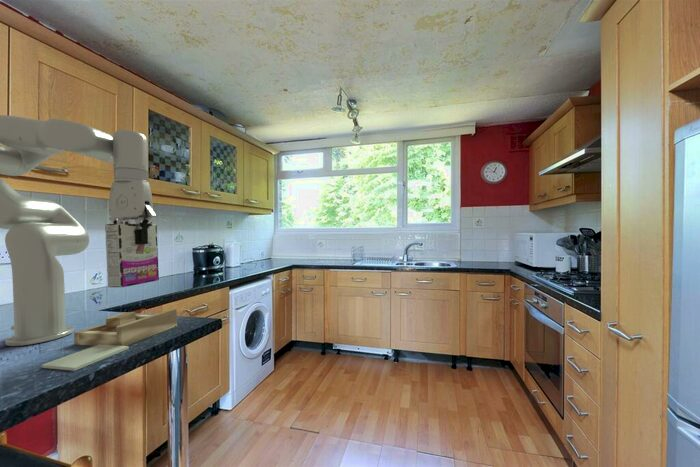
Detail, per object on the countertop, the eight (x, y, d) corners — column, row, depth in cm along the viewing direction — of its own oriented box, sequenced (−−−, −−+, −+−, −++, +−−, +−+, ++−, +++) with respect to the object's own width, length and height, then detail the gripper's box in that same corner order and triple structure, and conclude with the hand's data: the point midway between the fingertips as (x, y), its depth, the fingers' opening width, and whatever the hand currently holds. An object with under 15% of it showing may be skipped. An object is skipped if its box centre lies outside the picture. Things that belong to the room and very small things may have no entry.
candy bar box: (145, 280, 84) (143, 224, 84) (159, 280, 83) (158, 224, 83) (105, 287, 73) (104, 223, 73) (121, 287, 72) (120, 222, 72)
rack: (74, 344, 72) (73, 324, 72) (135, 324, 88) (135, 308, 88) (122, 347, 69) (121, 326, 69) (177, 325, 84) (176, 309, 84)
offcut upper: (106, 328, 76) (105, 318, 76) (122, 321, 82) (122, 312, 82) (120, 327, 76) (120, 317, 76) (135, 320, 82) (135, 311, 82)
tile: (41, 367, 59) (41, 364, 59) (99, 346, 70) (99, 344, 70) (74, 370, 57) (74, 367, 57) (128, 348, 68) (128, 346, 68)
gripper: (92, 177, 76) (93, 245, 76) (144, 172, 72) (145, 244, 72) (120, 182, 83) (122, 244, 83) (169, 178, 80) (170, 243, 79)
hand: (133, 243), depth 78 cm, fingers closed on candy bar box, 5 cm apart
